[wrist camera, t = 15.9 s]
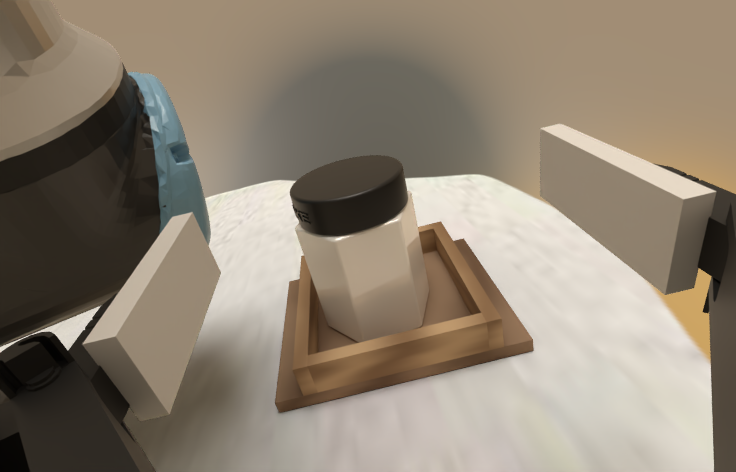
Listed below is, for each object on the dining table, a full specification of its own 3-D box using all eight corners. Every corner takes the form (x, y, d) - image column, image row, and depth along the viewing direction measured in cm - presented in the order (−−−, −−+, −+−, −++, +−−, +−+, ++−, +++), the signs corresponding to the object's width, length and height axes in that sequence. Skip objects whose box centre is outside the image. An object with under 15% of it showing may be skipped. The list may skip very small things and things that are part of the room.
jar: (349, 278, 39) (314, 160, 34) (434, 275, 36) (411, 146, 31) (316, 347, 32) (265, 209, 26) (419, 349, 29) (387, 197, 24)
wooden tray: (279, 412, 28) (262, 377, 27) (292, 289, 41) (281, 260, 40) (533, 350, 28) (531, 311, 26) (464, 247, 41) (460, 216, 40)
